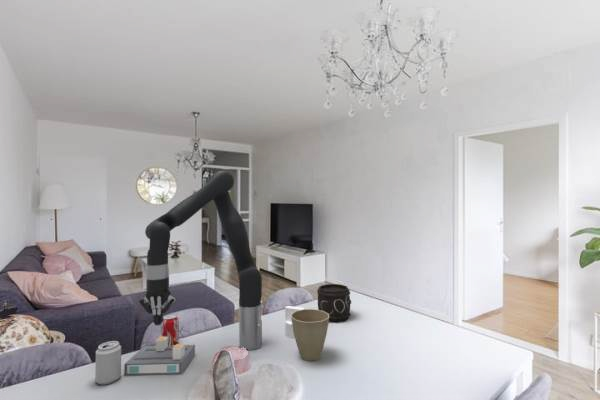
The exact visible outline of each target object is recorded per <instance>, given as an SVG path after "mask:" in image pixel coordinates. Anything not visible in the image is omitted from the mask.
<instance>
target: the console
mask: <svg viewBox="0 0 600 400" xmlns="http://www.w3.org/2000/svg"><path fill="white" fill-rule="evenodd" d="M174 346H175V345H174ZM174 346H168V347H167V348H166V349H165V350H164V351H156V345H144V346H143V347H142V348H140V349H139V350H138V351H137V352H136V353H135V354H134V355H132V357H130V358H129V359H128V360H127V361H126V362H125V363H124V364H123V366H124V367H123V368H124V373H123V374H124V376H154V375H155V376H157V375H182V374H183V373H184V372H185V370H186V369H187V367H188V366H189V364H190V363H191V361H192V360H193V358H194V357H195V355H196V347H195V346H196V345H195V344H185V355H184V356H183V358H182V359H181V360H173V347H174Z"/></svg>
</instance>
